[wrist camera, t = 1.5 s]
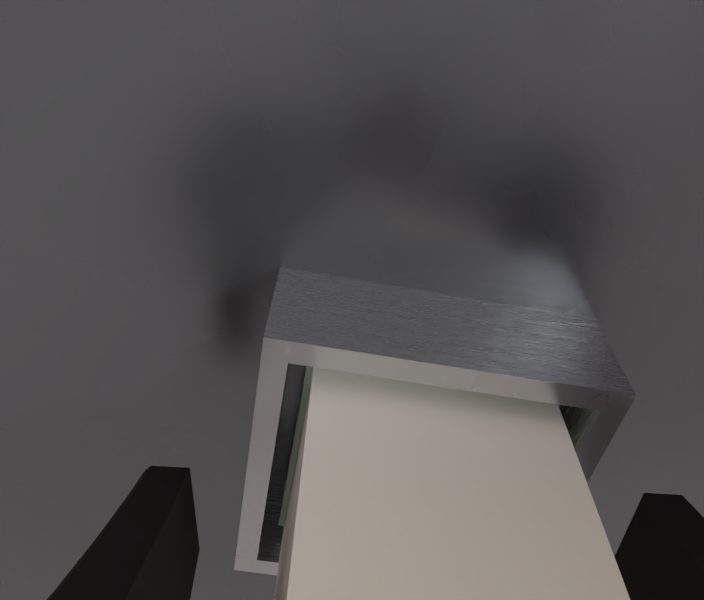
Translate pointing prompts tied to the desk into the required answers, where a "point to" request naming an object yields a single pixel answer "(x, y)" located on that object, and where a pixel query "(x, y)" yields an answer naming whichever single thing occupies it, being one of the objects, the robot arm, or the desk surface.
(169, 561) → the robot arm
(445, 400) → the post
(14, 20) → the stand
